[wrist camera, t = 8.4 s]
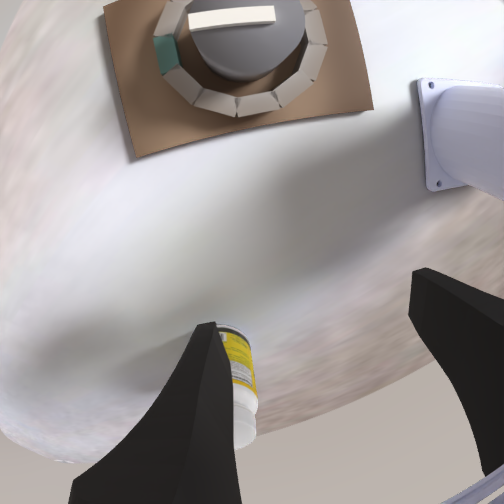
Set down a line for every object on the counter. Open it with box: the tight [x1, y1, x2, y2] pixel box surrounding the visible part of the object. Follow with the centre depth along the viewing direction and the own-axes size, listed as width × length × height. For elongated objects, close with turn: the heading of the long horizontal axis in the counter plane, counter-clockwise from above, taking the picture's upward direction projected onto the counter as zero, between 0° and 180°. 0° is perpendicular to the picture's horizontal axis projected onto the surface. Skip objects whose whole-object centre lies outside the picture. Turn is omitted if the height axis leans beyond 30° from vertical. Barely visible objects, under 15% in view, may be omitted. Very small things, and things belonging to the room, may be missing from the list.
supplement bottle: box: [217, 325, 258, 450], centre depth 19 cm, size 5×5×8 cm
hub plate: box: [103, 0, 374, 158], centre depth 13 cm, size 14×10×2 cm
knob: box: [188, 0, 305, 83], centre depth 11 cm, size 4×4×5 cm
